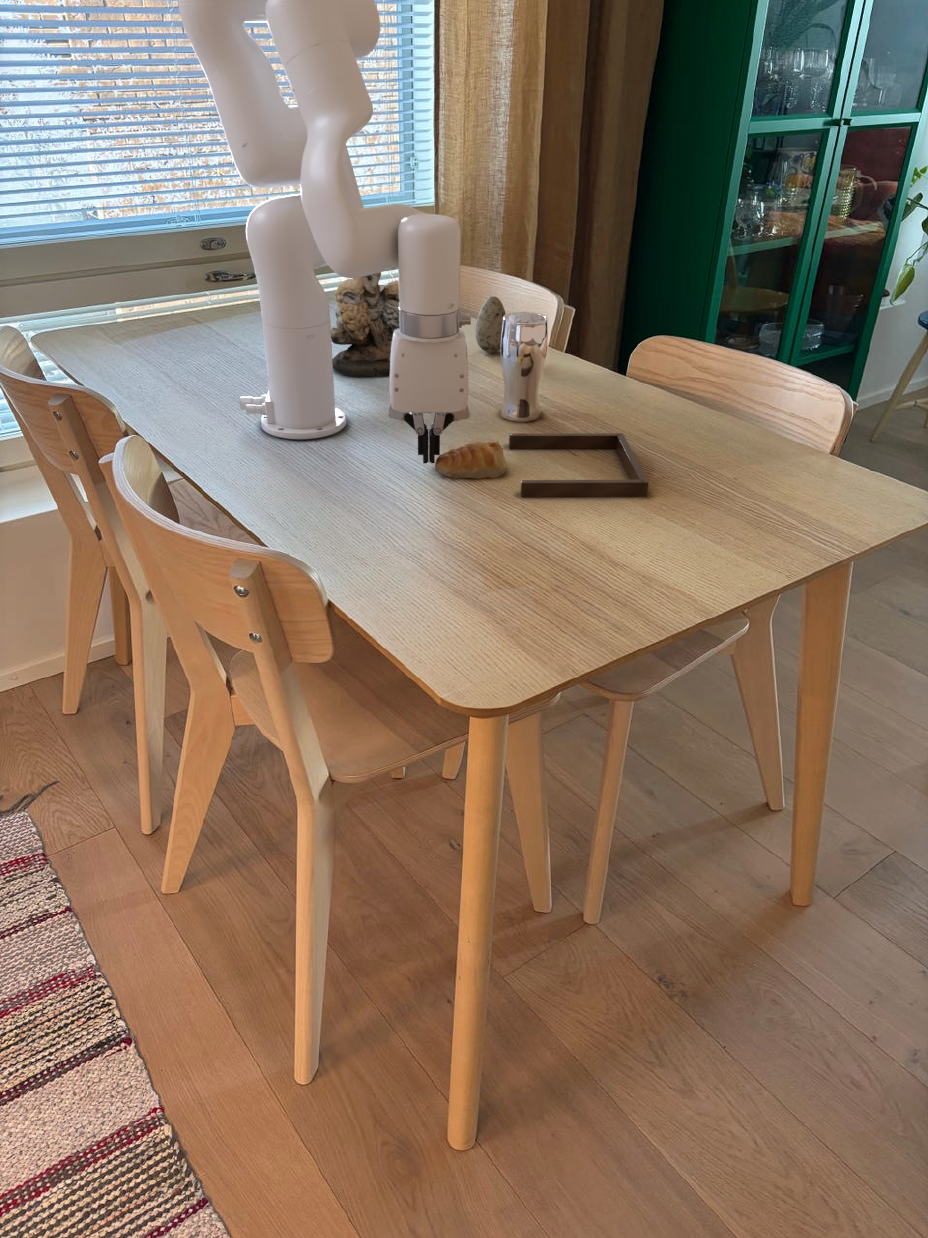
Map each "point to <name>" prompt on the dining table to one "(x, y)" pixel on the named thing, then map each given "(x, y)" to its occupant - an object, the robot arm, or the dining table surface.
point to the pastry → (473, 461)
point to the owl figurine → (365, 325)
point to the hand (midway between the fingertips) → (428, 459)
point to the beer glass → (522, 364)
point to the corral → (582, 487)
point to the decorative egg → (490, 325)
